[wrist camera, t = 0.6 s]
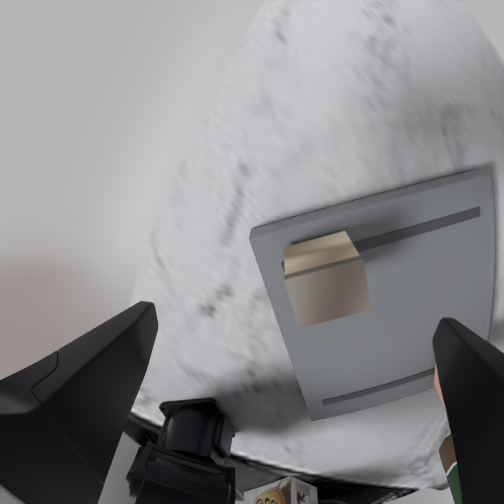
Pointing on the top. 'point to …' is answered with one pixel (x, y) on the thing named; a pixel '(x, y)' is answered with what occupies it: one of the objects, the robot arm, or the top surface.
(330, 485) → the top surface
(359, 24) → the top surface
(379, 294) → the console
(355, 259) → the block
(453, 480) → the beer bottle
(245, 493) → the coffee box
